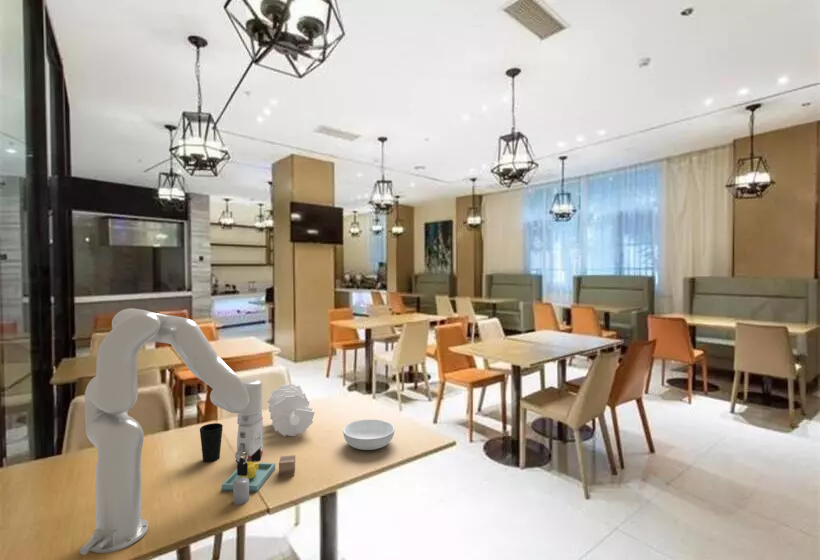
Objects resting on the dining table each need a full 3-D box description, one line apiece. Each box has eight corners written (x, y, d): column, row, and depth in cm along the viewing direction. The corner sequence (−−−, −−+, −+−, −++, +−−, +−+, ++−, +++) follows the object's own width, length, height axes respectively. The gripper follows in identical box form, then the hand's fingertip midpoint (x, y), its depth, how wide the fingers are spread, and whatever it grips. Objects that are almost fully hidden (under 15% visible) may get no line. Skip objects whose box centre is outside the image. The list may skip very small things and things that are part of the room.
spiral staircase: (283, 450, 162) (276, 425, 184) (322, 426, 168) (310, 405, 190) (263, 414, 157) (259, 393, 180) (304, 391, 163) (294, 374, 186)
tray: (257, 492, 123) (257, 485, 123) (221, 490, 124) (221, 484, 124) (275, 468, 138) (275, 463, 138) (243, 467, 139) (243, 462, 139)
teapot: (262, 479, 130) (262, 464, 130) (244, 485, 126) (244, 469, 126) (254, 470, 136) (254, 455, 136) (237, 475, 132) (237, 460, 132)
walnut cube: (294, 476, 133) (294, 461, 133) (278, 477, 132) (278, 463, 132) (295, 468, 138) (295, 455, 138) (280, 470, 137) (280, 456, 137)
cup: (213, 464, 141) (213, 432, 140) (194, 462, 142) (194, 430, 142) (227, 455, 148) (227, 424, 148) (209, 453, 150) (209, 422, 149)
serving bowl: (401, 451, 152) (401, 434, 152) (349, 460, 145) (349, 442, 144) (385, 431, 172) (385, 416, 171) (338, 438, 164) (338, 422, 164)
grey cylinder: (244, 505, 117) (244, 485, 116) (230, 504, 117) (230, 484, 117) (251, 496, 121) (251, 477, 121) (237, 496, 121) (237, 477, 121)
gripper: (248, 427, 122) (248, 481, 122) (271, 408, 139) (270, 456, 139) (225, 427, 122) (225, 480, 122) (250, 408, 139) (250, 455, 140)
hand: (249, 467), depth 131 cm, fingers open, 9 cm apart
